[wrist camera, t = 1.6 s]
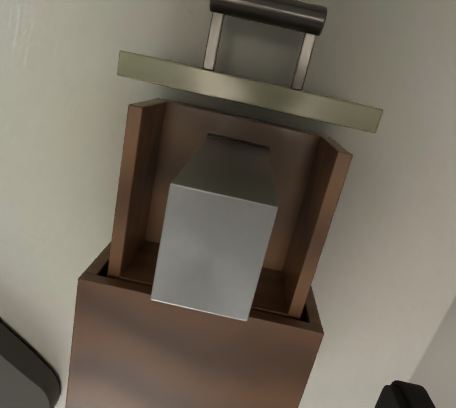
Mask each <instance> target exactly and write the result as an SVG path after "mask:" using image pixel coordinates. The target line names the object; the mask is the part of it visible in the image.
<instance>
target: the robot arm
mask: <svg viewBox="0 0 456 408" xmlns="http://www.w3.org/2000/svg"><path fill="white" fill-rule="evenodd" d="M375 408H435V406H434V404H433V402H432V401H431V399H430V397H429V395H428V393H427V391H426V390H425V389H424V387H422V386H420V385H416V384H411V383H407V382H403V381H398V380H395V381H394V382H392V384H391V385H386V386H384V388H383V389H382V392H381V394H380V396H379V399H378V401H377V403H376V406H375Z"/></svg>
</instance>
